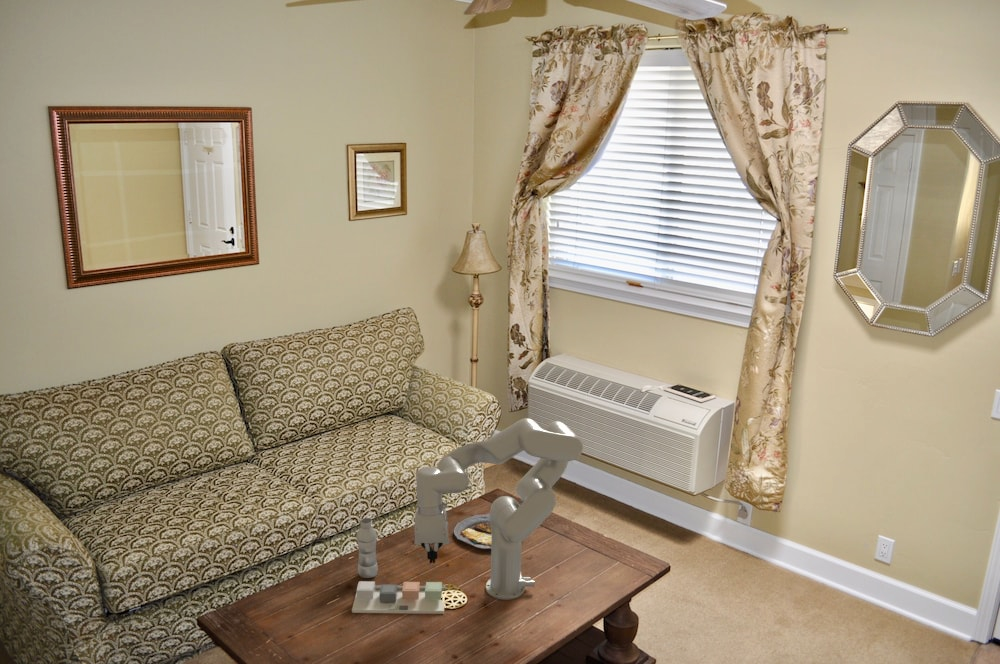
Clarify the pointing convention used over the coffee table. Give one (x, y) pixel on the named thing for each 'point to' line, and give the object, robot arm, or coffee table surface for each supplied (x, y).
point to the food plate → (472, 536)
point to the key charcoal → (388, 593)
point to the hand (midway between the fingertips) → (432, 560)
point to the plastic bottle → (367, 549)
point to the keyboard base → (399, 604)
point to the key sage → (433, 591)
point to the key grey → (365, 589)
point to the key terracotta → (411, 590)
